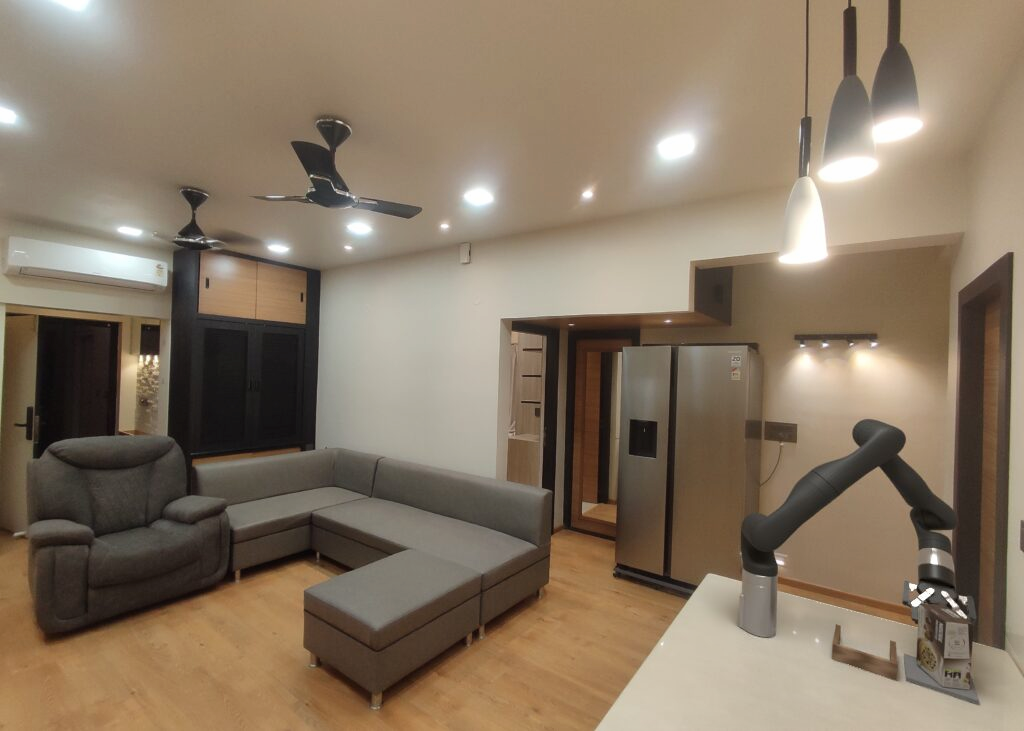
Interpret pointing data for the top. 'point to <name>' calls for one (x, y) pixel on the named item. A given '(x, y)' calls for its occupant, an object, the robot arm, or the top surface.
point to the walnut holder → (865, 658)
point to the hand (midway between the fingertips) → (938, 629)
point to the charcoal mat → (925, 680)
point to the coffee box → (944, 645)
